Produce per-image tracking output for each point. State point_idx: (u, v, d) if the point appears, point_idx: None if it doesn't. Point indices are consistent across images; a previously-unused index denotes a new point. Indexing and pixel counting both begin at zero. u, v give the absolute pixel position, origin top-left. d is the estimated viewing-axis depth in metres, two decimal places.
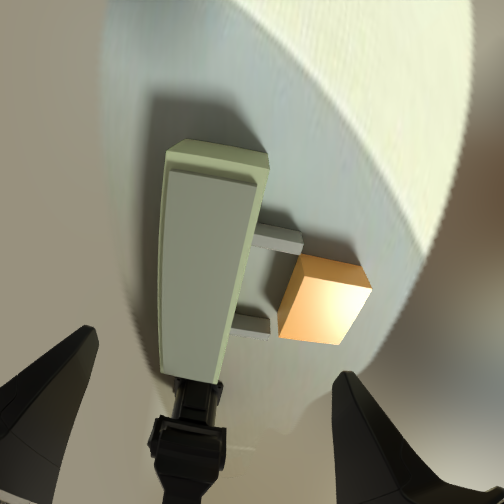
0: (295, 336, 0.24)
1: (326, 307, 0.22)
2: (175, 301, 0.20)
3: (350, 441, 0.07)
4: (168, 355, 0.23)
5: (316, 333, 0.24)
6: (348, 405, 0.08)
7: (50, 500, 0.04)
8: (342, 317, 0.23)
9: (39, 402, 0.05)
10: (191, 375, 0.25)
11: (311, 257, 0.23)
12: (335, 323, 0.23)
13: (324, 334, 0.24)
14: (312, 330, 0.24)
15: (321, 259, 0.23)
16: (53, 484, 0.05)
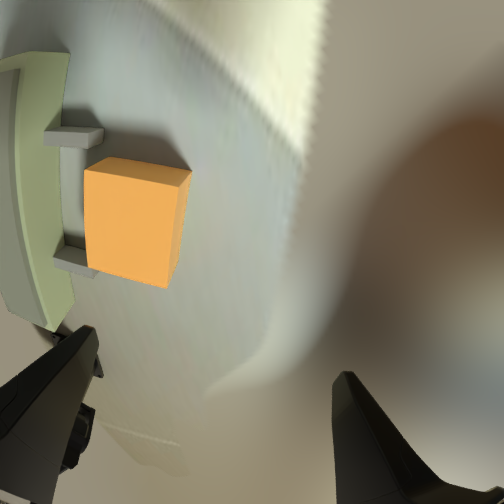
0: (105, 267, 0.17)
1: (123, 220, 0.15)
2: None
3: (350, 441, 0.07)
4: (0, 283, 0.16)
5: (127, 264, 0.17)
6: (348, 405, 0.08)
7: (50, 500, 0.04)
8: (151, 238, 0.16)
9: (40, 402, 0.05)
10: (25, 313, 0.18)
11: (119, 159, 0.16)
12: (145, 249, 0.16)
13: (137, 267, 0.17)
14: (119, 258, 0.17)
15: (132, 161, 0.16)
16: (53, 484, 0.05)
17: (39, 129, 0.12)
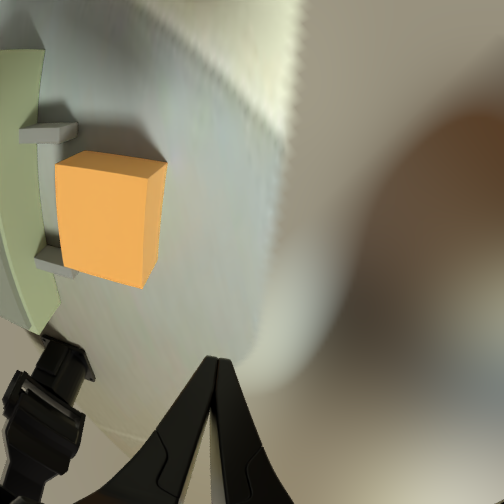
0: (80, 266, 0.15)
1: (94, 216, 0.14)
2: None
3: (213, 436, 0.07)
4: None
5: (101, 263, 0.15)
6: (213, 395, 0.07)
7: None
8: (122, 235, 0.14)
9: (189, 452, 0.05)
10: (9, 316, 0.16)
11: (94, 153, 0.15)
12: (117, 246, 0.15)
13: (112, 266, 0.15)
14: (93, 256, 0.15)
15: (106, 154, 0.15)
16: None
17: (13, 127, 0.11)
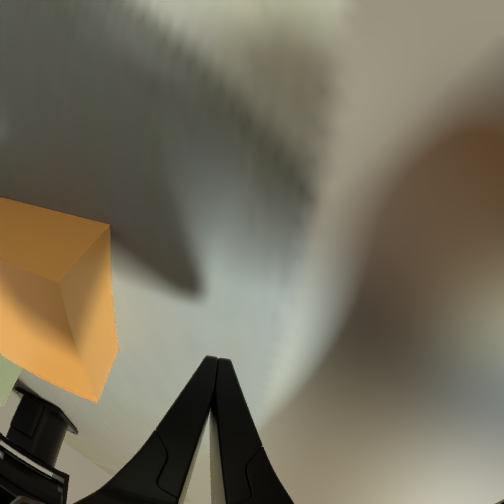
0: (17, 361, 0.09)
1: (10, 315, 0.07)
2: None
3: (213, 437, 0.07)
4: None
5: (39, 367, 0.08)
6: (213, 395, 0.07)
7: None
8: (52, 348, 0.07)
9: None
10: None
11: (10, 203, 0.08)
12: (50, 358, 0.08)
13: (52, 374, 0.09)
14: (27, 358, 0.08)
15: (23, 207, 0.08)
16: None
17: None
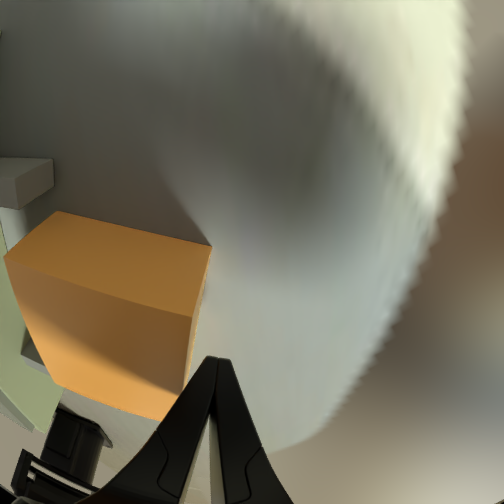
0: (78, 390, 0.09)
1: (89, 348, 0.07)
2: None
3: (212, 436, 0.07)
4: None
5: (111, 396, 0.09)
6: (213, 395, 0.07)
7: None
8: (144, 379, 0.08)
9: None
10: (4, 414, 0.10)
11: (74, 218, 0.08)
12: (136, 388, 0.08)
13: (129, 402, 0.09)
14: (97, 388, 0.09)
15: (95, 222, 0.08)
16: None
17: None
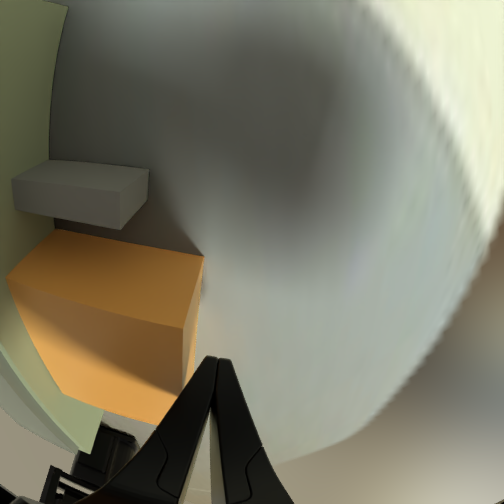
0: (85, 399, 0.09)
1: (91, 360, 0.07)
2: None
3: (213, 437, 0.07)
4: None
5: (116, 404, 0.09)
6: (213, 395, 0.07)
7: None
8: (146, 387, 0.08)
9: None
10: (43, 437, 0.10)
11: (71, 236, 0.08)
12: (139, 396, 0.08)
13: (133, 409, 0.09)
14: (103, 397, 0.09)
15: (91, 239, 0.09)
16: None
17: None
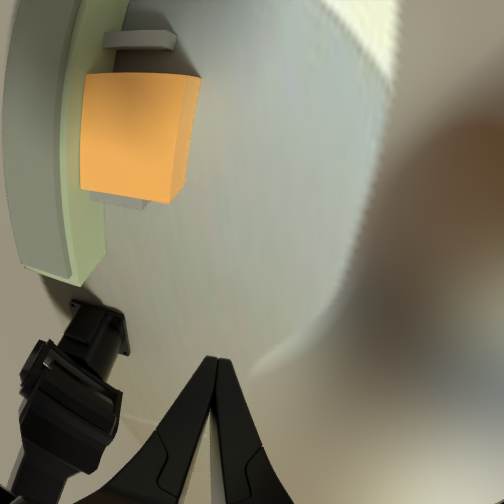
0: (99, 185, 0.14)
1: (123, 121, 0.12)
2: (11, 121, 0.10)
3: (213, 437, 0.07)
4: (15, 223, 0.14)
5: (124, 176, 0.14)
6: (213, 395, 0.07)
7: None
8: (153, 138, 0.13)
9: (188, 452, 0.05)
10: (43, 262, 0.15)
11: None
12: (145, 153, 0.13)
13: (136, 178, 0.14)
14: (116, 169, 0.14)
15: None
16: None
17: (100, 27, 0.10)
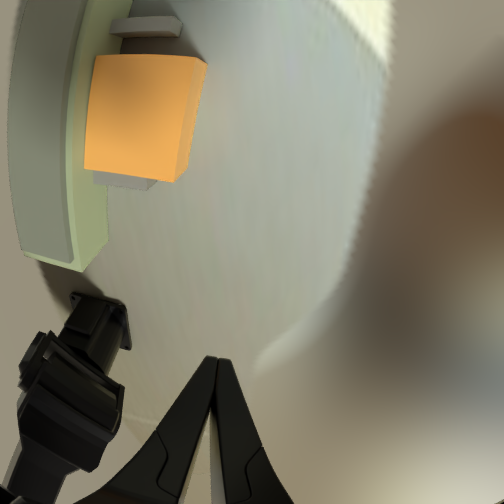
0: (103, 164, 0.14)
1: (131, 100, 0.12)
2: (17, 102, 0.10)
3: (213, 436, 0.07)
4: (17, 207, 0.13)
5: (129, 155, 0.14)
6: (213, 395, 0.07)
7: None
8: (160, 117, 0.13)
9: (189, 452, 0.05)
10: (44, 247, 0.15)
11: None
12: (152, 131, 0.13)
13: (141, 157, 0.14)
14: (121, 148, 0.14)
15: None
16: None
17: (109, 14, 0.10)
